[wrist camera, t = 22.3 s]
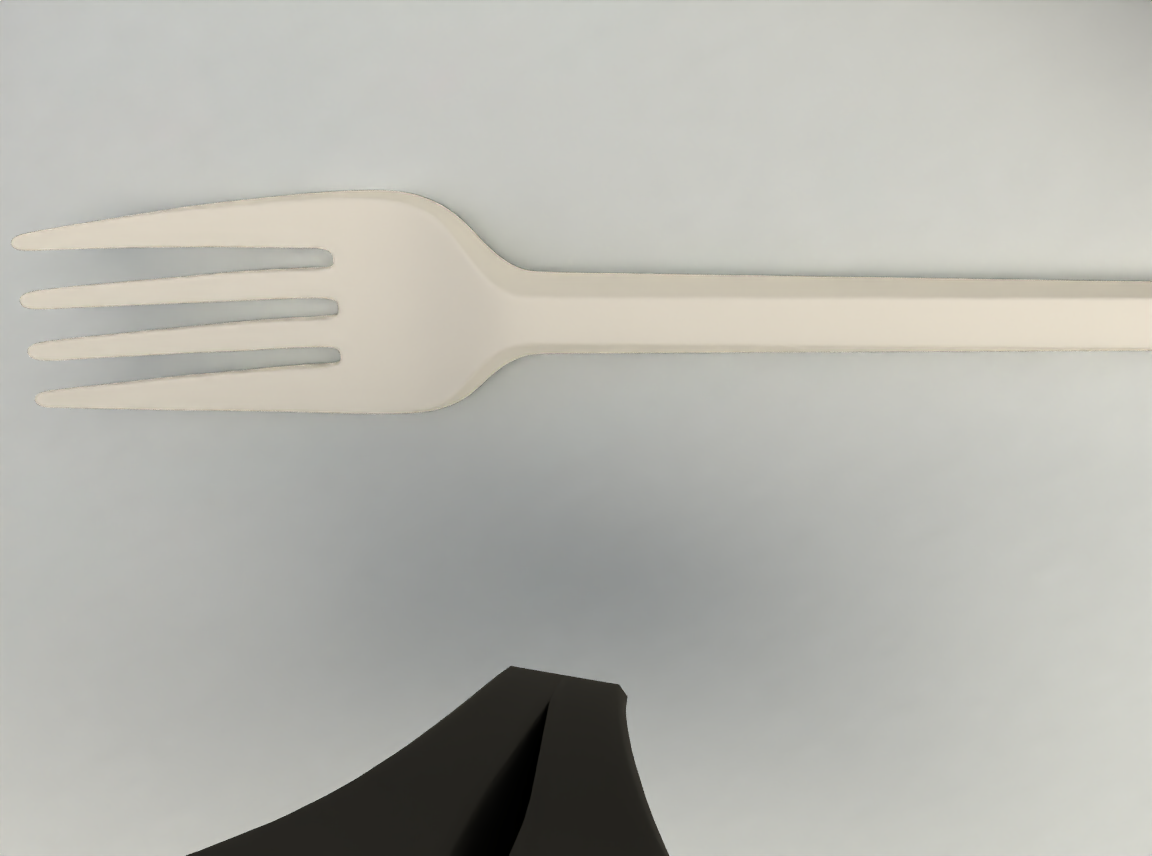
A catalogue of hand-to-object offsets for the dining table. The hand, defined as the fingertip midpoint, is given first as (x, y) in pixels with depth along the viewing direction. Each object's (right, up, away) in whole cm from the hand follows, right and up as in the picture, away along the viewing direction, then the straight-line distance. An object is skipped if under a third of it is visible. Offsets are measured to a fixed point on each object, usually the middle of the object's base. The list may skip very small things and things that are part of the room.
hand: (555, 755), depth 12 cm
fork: (+3, +5, +3) cm, 7 cm away
